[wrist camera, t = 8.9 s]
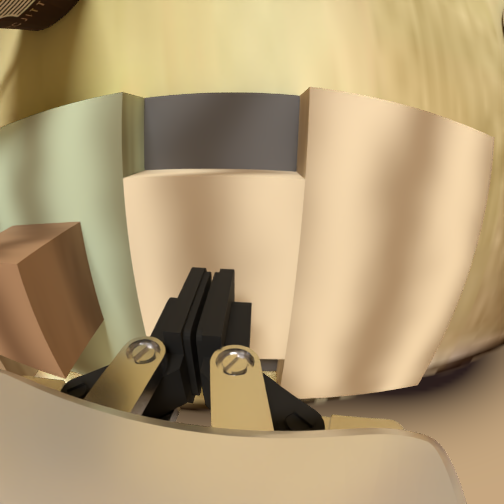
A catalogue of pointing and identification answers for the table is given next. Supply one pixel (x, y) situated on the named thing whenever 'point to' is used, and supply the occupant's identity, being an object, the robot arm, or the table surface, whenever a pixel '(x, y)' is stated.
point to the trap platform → (264, 221)
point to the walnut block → (46, 296)
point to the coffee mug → (33, 13)
